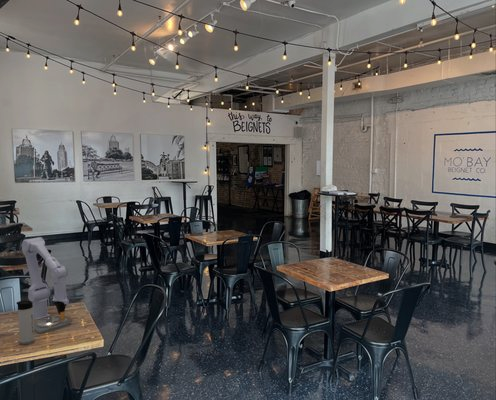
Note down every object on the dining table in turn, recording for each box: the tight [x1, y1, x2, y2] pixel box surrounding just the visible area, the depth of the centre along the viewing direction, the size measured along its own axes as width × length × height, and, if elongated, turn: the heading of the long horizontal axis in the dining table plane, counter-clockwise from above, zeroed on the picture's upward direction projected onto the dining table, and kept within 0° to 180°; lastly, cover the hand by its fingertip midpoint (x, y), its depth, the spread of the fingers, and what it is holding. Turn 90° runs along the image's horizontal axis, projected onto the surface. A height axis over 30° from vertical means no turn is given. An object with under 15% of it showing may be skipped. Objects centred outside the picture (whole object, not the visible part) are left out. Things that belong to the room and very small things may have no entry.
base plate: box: [34, 315, 72, 335], centre depth 206 cm, size 16×16×3 cm
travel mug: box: [16, 300, 36, 346], centre depth 185 cm, size 6×7×20 cm
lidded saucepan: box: [37, 311, 68, 327], centre depth 206 cm, size 14×11×5 cm
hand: (61, 314), depth 211 cm, fingers closed
